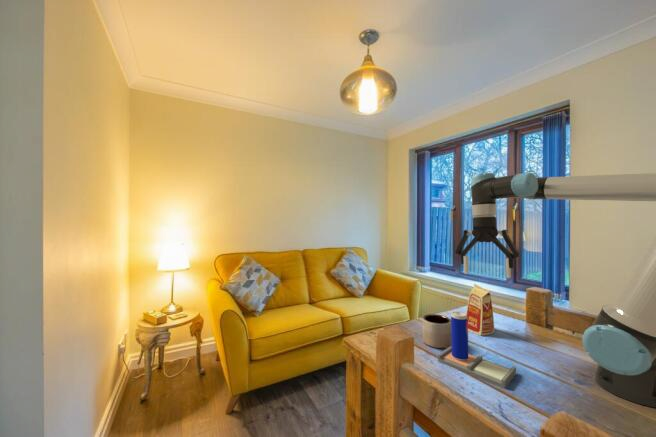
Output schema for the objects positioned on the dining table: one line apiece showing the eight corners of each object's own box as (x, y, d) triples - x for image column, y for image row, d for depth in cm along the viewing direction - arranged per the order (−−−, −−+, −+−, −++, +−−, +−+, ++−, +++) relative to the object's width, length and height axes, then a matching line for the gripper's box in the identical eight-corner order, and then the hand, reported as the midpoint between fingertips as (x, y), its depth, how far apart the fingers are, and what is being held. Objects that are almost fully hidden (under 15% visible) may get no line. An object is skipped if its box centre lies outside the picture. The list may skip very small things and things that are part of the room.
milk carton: (464, 328, 119) (463, 284, 119) (477, 325, 123) (477, 281, 123) (483, 336, 111) (482, 288, 111) (497, 332, 114) (496, 286, 115)
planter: (446, 337, 111) (446, 314, 111) (456, 350, 100) (456, 324, 100) (419, 336, 112) (419, 313, 112) (426, 349, 101) (426, 323, 101)
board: (516, 373, 84) (515, 366, 84) (504, 388, 77) (504, 380, 77) (452, 350, 99) (452, 344, 99) (437, 361, 92) (437, 354, 92)
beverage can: (470, 362, 89) (469, 317, 89) (453, 360, 90) (453, 316, 90) (465, 354, 94) (465, 311, 94) (450, 353, 95) (449, 311, 95)
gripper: (528, 215, 90) (531, 277, 90) (452, 217, 108) (454, 270, 108) (523, 214, 85) (526, 281, 84) (445, 217, 103) (447, 272, 102)
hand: (486, 275), depth 96 cm, fingers open, 13 cm apart
